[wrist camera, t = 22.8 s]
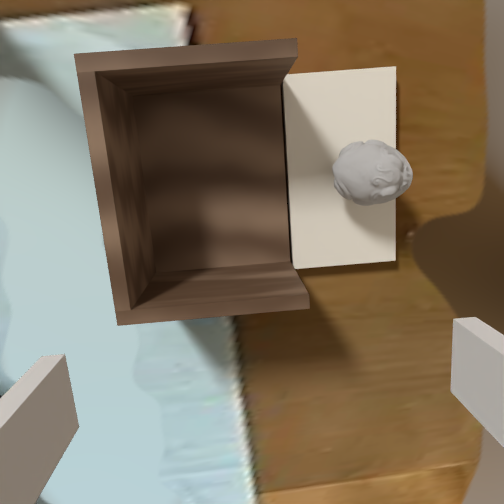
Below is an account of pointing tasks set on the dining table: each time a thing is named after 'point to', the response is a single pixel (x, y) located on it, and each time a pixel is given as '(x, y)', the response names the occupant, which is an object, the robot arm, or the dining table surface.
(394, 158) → the white sculpted head
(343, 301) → the dining table surface
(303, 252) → the panel
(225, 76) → the crate
